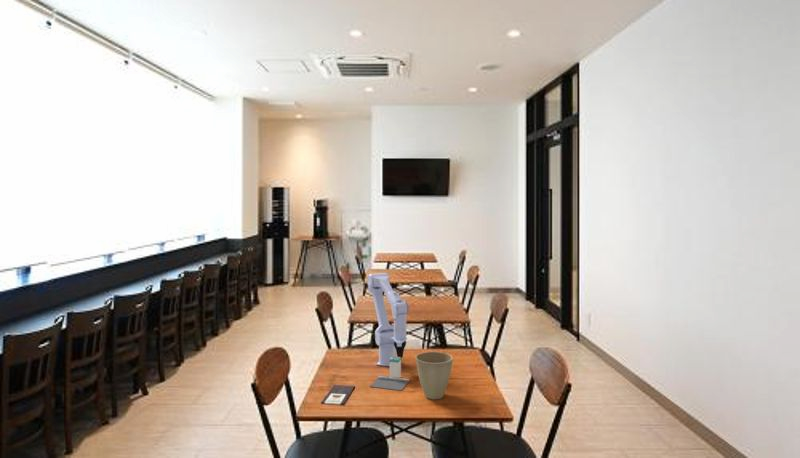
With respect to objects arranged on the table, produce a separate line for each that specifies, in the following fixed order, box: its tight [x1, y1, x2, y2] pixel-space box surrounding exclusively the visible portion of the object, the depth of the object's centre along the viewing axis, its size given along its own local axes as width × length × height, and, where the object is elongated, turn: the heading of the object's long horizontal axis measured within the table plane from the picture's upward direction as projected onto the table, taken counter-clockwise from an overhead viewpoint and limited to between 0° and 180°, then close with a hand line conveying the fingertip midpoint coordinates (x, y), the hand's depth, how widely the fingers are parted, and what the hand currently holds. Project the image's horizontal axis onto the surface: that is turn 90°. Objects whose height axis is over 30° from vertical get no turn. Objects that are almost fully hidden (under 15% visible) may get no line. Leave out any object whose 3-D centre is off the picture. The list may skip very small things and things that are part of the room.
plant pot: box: [415, 351, 454, 400], centre depth 197 cm, size 15×15×16 cm
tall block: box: [389, 356, 402, 378], centre depth 216 cm, size 4×4×9 cm
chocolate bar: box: [320, 384, 355, 406], centre depth 198 cm, size 9×1×18 cm
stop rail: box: [376, 375, 410, 383], centre depth 214 cm, size 2×14×1 cm, turn 73°
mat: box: [369, 379, 409, 392], centre depth 209 cm, size 9×14×1 cm, turn 73°
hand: (400, 357), depth 223 cm, fingers closed
